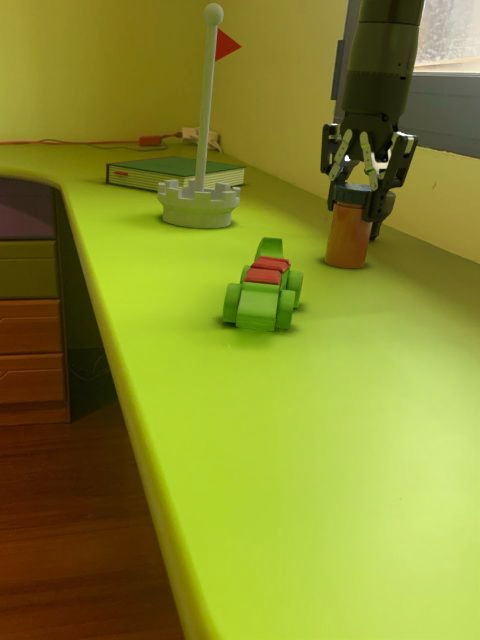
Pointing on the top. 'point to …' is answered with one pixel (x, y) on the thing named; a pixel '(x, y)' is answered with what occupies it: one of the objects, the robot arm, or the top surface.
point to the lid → (351, 193)
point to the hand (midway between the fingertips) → (352, 215)
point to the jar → (347, 236)
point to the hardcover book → (170, 172)
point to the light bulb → (386, 211)
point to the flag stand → (203, 149)
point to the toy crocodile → (264, 290)
